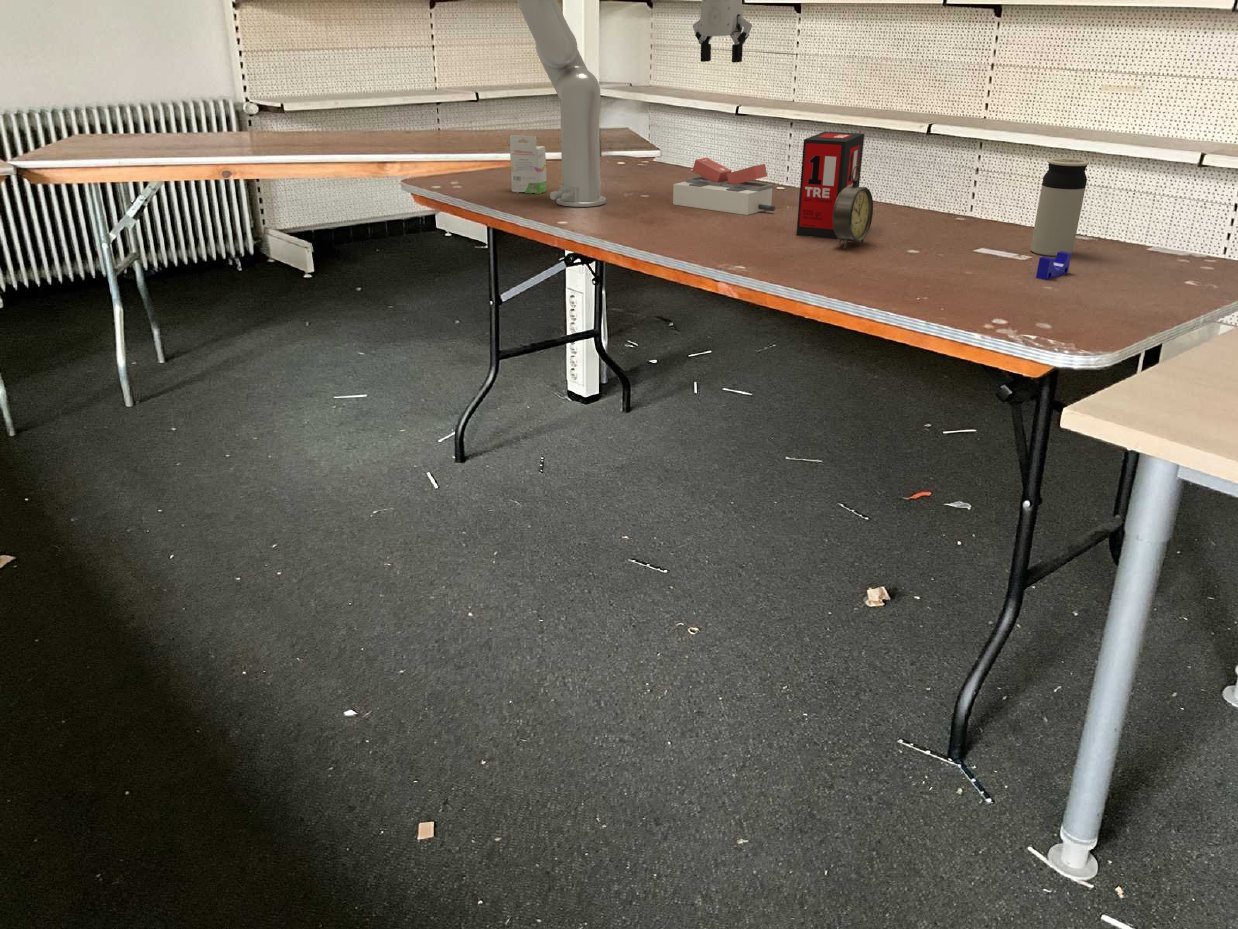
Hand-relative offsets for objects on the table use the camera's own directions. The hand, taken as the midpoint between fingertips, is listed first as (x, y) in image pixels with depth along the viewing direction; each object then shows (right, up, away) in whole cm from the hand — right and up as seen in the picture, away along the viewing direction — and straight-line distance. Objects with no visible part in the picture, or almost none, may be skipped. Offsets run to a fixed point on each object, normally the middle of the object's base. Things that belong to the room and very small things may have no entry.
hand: (721, 61), depth 238 cm
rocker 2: (+7, -29, 0) cm, 29 cm away
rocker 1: (-2, -26, +7) cm, 26 cm away
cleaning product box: (+21, -46, -20) cm, 55 cm away
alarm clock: (+23, -53, -34) cm, 67 cm away
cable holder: (+55, -64, -56) cm, 101 cm away
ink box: (-49, -25, +25) cm, 60 cm away
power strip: (+2, -35, +4) cm, 35 cm away
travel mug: (+63, -56, -40) cm, 93 cm away
